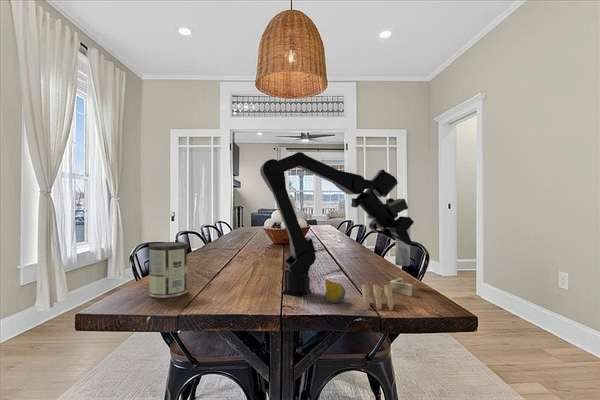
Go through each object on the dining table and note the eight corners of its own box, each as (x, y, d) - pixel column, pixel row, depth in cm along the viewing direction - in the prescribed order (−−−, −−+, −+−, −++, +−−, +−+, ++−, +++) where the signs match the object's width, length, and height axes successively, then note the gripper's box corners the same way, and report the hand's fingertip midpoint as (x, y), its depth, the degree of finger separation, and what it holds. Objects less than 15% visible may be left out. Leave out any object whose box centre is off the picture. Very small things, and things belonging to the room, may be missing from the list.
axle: (393, 264, 111) (393, 222, 111) (398, 262, 115) (398, 222, 115) (407, 266, 109) (407, 223, 109) (412, 264, 112) (412, 222, 112)
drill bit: (351, 304, 94) (337, 283, 88) (332, 311, 95) (317, 291, 89) (346, 288, 98) (333, 267, 92) (329, 295, 99) (314, 275, 93)
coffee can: (164, 287, 109) (164, 241, 109) (194, 290, 106) (194, 242, 106) (140, 296, 99) (140, 245, 99) (172, 299, 96) (173, 246, 96)
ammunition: (362, 283, 96) (364, 290, 88) (390, 284, 95) (395, 291, 87) (361, 300, 96) (363, 310, 88) (390, 302, 95) (394, 311, 87)
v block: (395, 296, 101) (395, 285, 101) (385, 287, 110) (385, 278, 110) (413, 295, 101) (413, 285, 101) (402, 287, 110) (402, 278, 110)
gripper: (407, 188, 102) (441, 227, 104) (378, 190, 120) (407, 223, 122) (381, 216, 100) (417, 255, 102) (355, 213, 118) (386, 246, 121)
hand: (406, 243), depth 112 cm, fingers closed on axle, 4 cm apart
